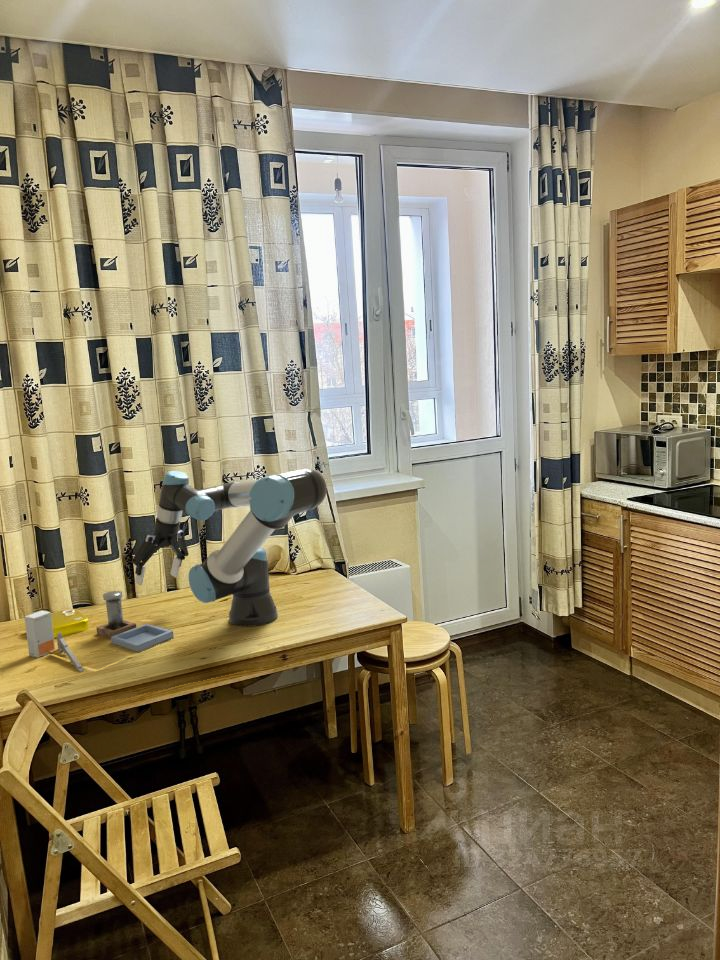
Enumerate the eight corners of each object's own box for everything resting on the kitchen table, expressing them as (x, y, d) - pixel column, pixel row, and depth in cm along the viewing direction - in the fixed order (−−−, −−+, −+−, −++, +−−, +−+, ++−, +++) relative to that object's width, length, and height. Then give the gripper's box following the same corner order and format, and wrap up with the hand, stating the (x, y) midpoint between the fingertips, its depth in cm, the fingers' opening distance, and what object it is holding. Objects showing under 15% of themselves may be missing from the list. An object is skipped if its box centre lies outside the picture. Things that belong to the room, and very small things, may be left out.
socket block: (136, 631, 229) (136, 623, 229) (113, 640, 223) (112, 632, 223) (120, 626, 235) (119, 619, 234) (97, 635, 228) (96, 627, 228)
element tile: (29, 632, 236) (27, 617, 235) (77, 620, 245) (75, 606, 244) (41, 645, 224) (39, 629, 223) (91, 632, 233) (89, 617, 232)
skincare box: (38, 658, 213) (32, 618, 211) (28, 656, 215) (23, 616, 213) (56, 650, 218) (51, 611, 216) (47, 648, 220) (42, 609, 218)
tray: (173, 638, 222) (173, 631, 221) (137, 653, 212) (136, 645, 212) (147, 630, 230) (146, 623, 229) (111, 644, 220) (110, 637, 219)
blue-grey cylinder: (130, 630, 229) (125, 592, 227) (114, 636, 225) (109, 597, 223) (119, 627, 233) (115, 589, 231) (103, 633, 228) (99, 595, 226)
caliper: (58, 652, 217) (55, 631, 216) (62, 651, 218) (59, 630, 217) (80, 673, 201) (77, 651, 200) (84, 672, 202) (81, 650, 201)
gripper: (192, 510, 244) (180, 567, 250) (127, 519, 224) (115, 581, 230) (207, 519, 240) (194, 577, 246) (141, 529, 220) (129, 592, 226)
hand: (156, 579), depth 238 cm, fingers open, 13 cm apart
